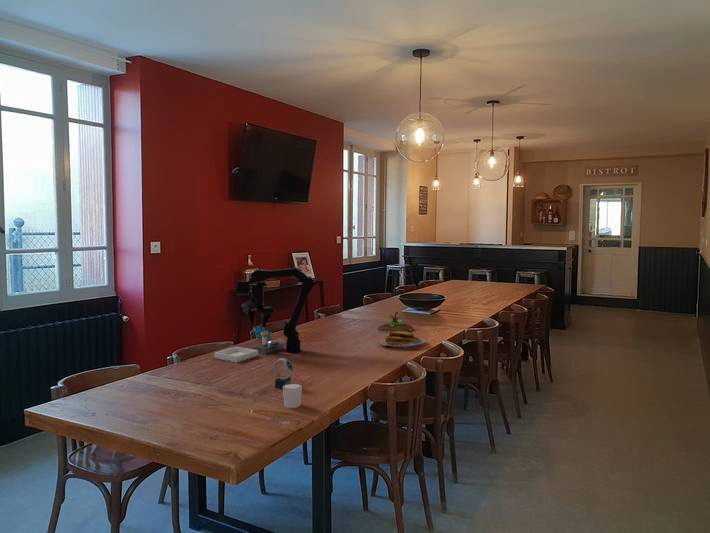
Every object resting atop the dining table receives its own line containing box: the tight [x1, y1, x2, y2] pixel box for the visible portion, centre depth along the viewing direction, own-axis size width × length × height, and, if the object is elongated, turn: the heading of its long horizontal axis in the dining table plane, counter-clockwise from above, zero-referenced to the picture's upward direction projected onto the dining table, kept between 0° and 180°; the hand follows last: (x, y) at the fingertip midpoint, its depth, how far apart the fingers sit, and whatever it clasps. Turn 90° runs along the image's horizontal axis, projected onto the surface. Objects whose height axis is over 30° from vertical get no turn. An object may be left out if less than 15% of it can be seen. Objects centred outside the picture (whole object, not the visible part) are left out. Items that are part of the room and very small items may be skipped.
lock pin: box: [261, 331, 269, 347], centre depth 271 cm, size 4×4×10 cm
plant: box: [377, 311, 414, 332], centre depth 328 cm, size 20×20×11 cm
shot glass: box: [282, 383, 303, 409], centre depth 192 cm, size 7×7×7 cm
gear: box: [254, 326, 272, 342], centre depth 299 cm, size 11×6×10 cm
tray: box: [213, 346, 259, 364], centre depth 260 cm, size 15×15×3 cm
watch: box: [272, 358, 294, 390], centre depth 215 cm, size 6×8×11 cm
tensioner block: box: [252, 339, 285, 355], centre depth 274 cm, size 8×14×4 cm, turn 149°
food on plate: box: [378, 331, 426, 349], centre depth 287 cm, size 25×25×7 cm
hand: (257, 325), depth 270 cm, fingers open, 9 cm apart
